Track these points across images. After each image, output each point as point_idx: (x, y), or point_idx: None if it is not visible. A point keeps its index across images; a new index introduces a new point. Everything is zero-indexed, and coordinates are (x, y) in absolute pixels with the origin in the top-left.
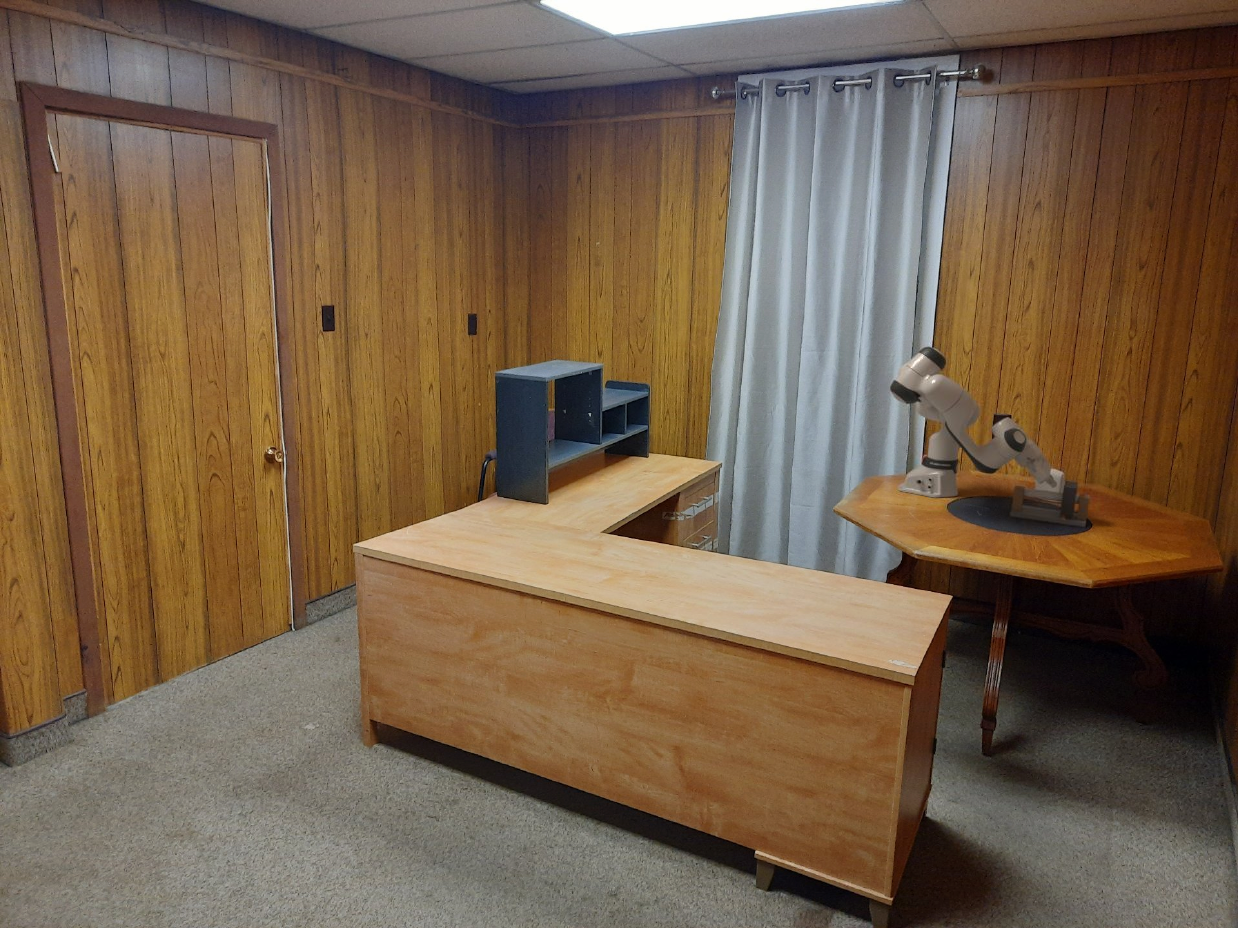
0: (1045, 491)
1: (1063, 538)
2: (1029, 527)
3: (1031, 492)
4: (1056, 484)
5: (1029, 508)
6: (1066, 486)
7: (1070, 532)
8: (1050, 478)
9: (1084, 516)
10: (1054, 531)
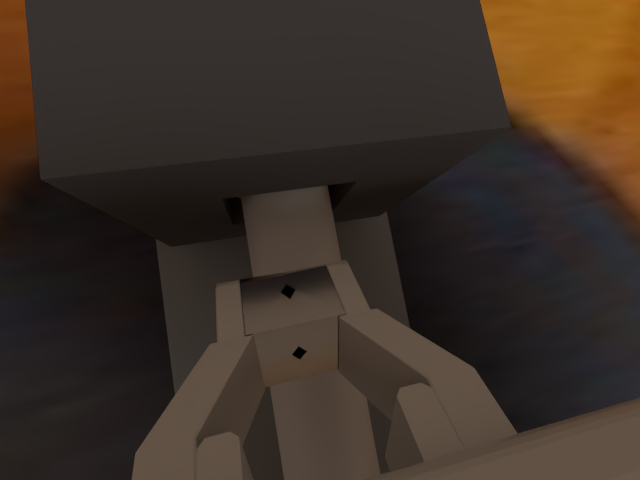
0: (336, 382)
1: (626, 149)
2: (576, 331)
3: None
4: (346, 265)
5: (249, 459)
6: (462, 100)
7: (508, 140)
8: (471, 371)
9: None
10: (549, 207)
